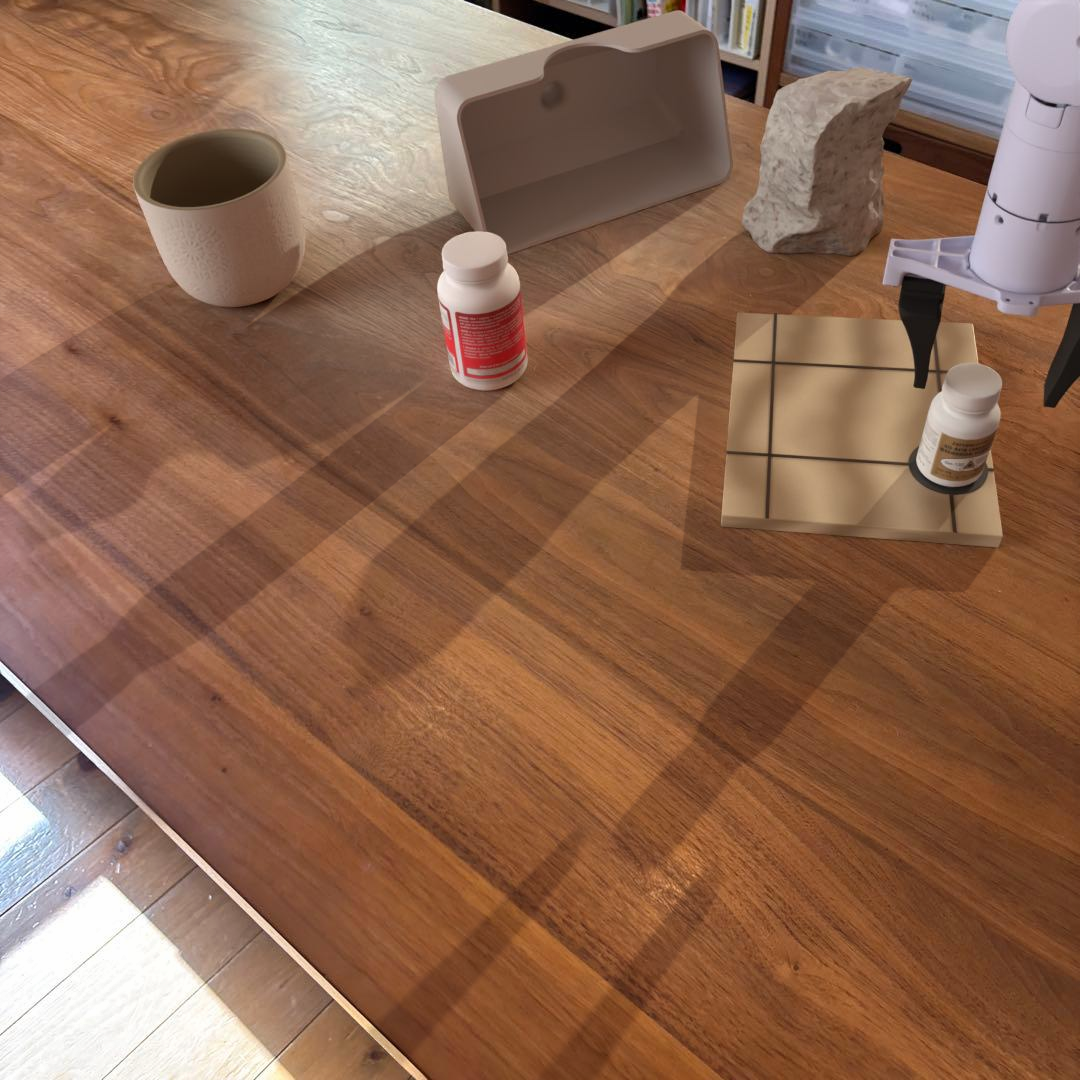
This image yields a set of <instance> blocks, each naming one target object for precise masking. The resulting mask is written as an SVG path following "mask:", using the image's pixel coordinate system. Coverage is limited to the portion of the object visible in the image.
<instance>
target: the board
mask: <svg viewBox="0 0 1080 1080" xmlns="http://www.w3.org/2000/svg"><path fill="white" fill-rule="evenodd" d="M735 322H736V323H735V325H736V326H735V336H734V337H735V338H734V339H735V340H734V348H733V361H732V362H733V364H732V376H731V389H730V401H729V414H728V424H727V425H728V426H727V438H726V439H727V440H726V451H725V453H726V454H725V464H724V465H725V467H724V477H723V478H724V479H723V490H722V502H721V506H722V507H721V517H720V527H722V528H736V529H747V530H762V531H775V532H786V533H787V532H788V533H802V534H814V535H828V536H839V537H854V538H865V539H866V538H867V539H877V540H878V539H879V540H880V539H881V540H891V541H892V540H893V541H894V540H895V541H905V542H906V541H908V542H919V543H930V544H931V543H932V544H945V545H946V544H947V545H959V546H972V547H974V546H975V547H985V548H997V549H998V548H1000V545H1001V543H1002V540H1003V537H1004V535H1003V533H1004V532H1003V526H1002V521H1001V512H1000V505H999V499H998V492H997V485H996V484H997V483H996V478H995V468H994V464H993V463H994V462H993V456H992V455H993V454H992V449H990V452H989V455H988V457H987V460H986V463H985V466H984V469H983V472H982V474H981V475H980V477H979V478H978V479H977V480H976V481H974V482H973V483H971V484H969V485H965V486H960V487H948V486H943V485H940V484H937V483H935V482H933V481H931V480H929V479H928V478H927V477H925V476H924V475H923V474H922V473H921V471H920V470H919V468H918V466H917V462H916V458H917V453H918V449H919V446H920V442H921V438H922V434H923V431H924V427H925V423H926V419H927V416H928V412H929V408H930V405H931V402H932V400H933V399H934V397H935V396H936V395H937V394H938V393H940V392H941V391H942V386H943V384H944V380H945V377H946V374H947V372H948V371H949V370H950V369H951V368H952V367H954V366H956V365H959V364H963V363H978V364H980V363H979V357H978V349H977V343H976V336H975V328H974V323H971V322H970V323H969V322H952V321H951V322H948V321H940V324H939V327H938V330H937V334H936V337H935V341H934V344H933V348H932V351H931V357H930V364H929V371H928V379H927V383H926V386H925V389H920V388H915V387H914V386H913V385H914V378H915V369H914V359H913V353H912V348H911V344H910V340H909V337H908V334H907V332H906V329H905V327H904V324H903V323H902V321H901V319H883V318H882V319H881V318H861V317H844V316H843V317H841V316H840V317H839V316H819V315H799V314H796V315H795V314H778V313H777V312H775V313H754V312H753V313H752V312H737V314H736V321H735Z"/></svg>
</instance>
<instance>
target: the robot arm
mask: <svg viewBox="0 0 1080 1080" xmlns="http://www.w3.org/2000/svg"><path fill="white" fill-rule="evenodd" d="M1005 52H1006V59H1007V61H1008V65H1009V67H1010V70H1011V72H1012V74H1013V76H1014V77H1015V81H1014V84H1013V89H1012V92H1011V96H1010V100H1009V103H1008V106H1007V110H1006V114H1005V118H1004V120H1003V121H1004V122H1003V124H1002V125H1003V126H1002V130H1001V133H1000V136H999V141H998V145H997V149H996V152H995V155H994V161H993V164H992V167H991V172H990V173H989V174H990V175H989V178H988V183H987V187H986V191H985V195H984V199H983V203H982V207H981V211H980V214H979V218H978V223H977V226H976V229H975V233H974V235H960V236H951V237H938V238H927V239H900V238H891V239H890V242H889V249H888V253H887V258H886V262H885V268H884V273H883V277H882V285H884V286H890V287H900V293H899V298H898V305H897V306H898V313H899V320H901V321H902V323H903V324H904V327H905V329H906V332H907V334H908V337H909V340H910V344H911V348H912V353H913V359H914V369H915V378H914V385H913V386H914V387H915V388H920V389H925V386H926V383H927V379H928V371H929V364H930V357H931V351H932V348H933V344H934V341H935V337H936V334H937V330H938V327H939V324H940V322H942V313H943V306H944V300H945V295H946V287H952V288H955V289H959V290H961V291H964V292H966V293H970V294H973V295H976V296H978V297H982V298H985V299H988V300H990V301H994V302H996V308H997V310H998V311H999V312H1000V313H1002V314H1006V315H1013V316H1014V315H1015V316H1021V317H1034V316H1036V315H1037V314H1038V312H1039V309H1040V307H1049V306H1050V307H1051V306H1061V305H1072V306H1071V309H1070V313H1069V315H1068V316H1069V317H1068V320H1067V323H1066V327H1065V329H1064V332H1063V336H1062V338H1061V341H1060V343H1059V345H1058V348H1057V350H1056V352H1055V355H1054V356H1053V359H1052V361H1051V364H1050V365H1049V369H1048V371H1047V375H1046V377H1045V381H1044V384H1043V405H1042V406H1043V407H1044V408H1052V409H1055V408H1056V407H1057V406H1058V404H1059V403H1060V401H1061V400H1062V399H1063V397H1064V395H1065V394H1066V393H1067V391H1068V390H1069V389H1070V388H1071V387H1072V386H1073V384H1074V383H1075V382H1076V381H1077V380H1078V379H1080V0H1020V1H1019V2H1018V3H1017V5H1016V6H1015V8H1014V10H1013V12H1012V14H1011V16H1010V18H1009V21H1008V24H1007V27H1006V34H1005Z"/></svg>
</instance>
